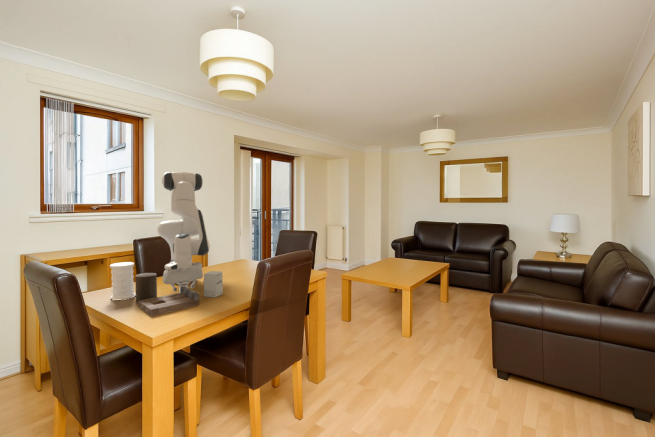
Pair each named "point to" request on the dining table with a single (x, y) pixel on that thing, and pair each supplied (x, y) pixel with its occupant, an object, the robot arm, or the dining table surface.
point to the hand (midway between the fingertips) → (183, 289)
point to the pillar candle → (146, 286)
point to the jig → (170, 302)
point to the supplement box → (213, 284)
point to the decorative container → (122, 280)
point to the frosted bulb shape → (183, 284)
